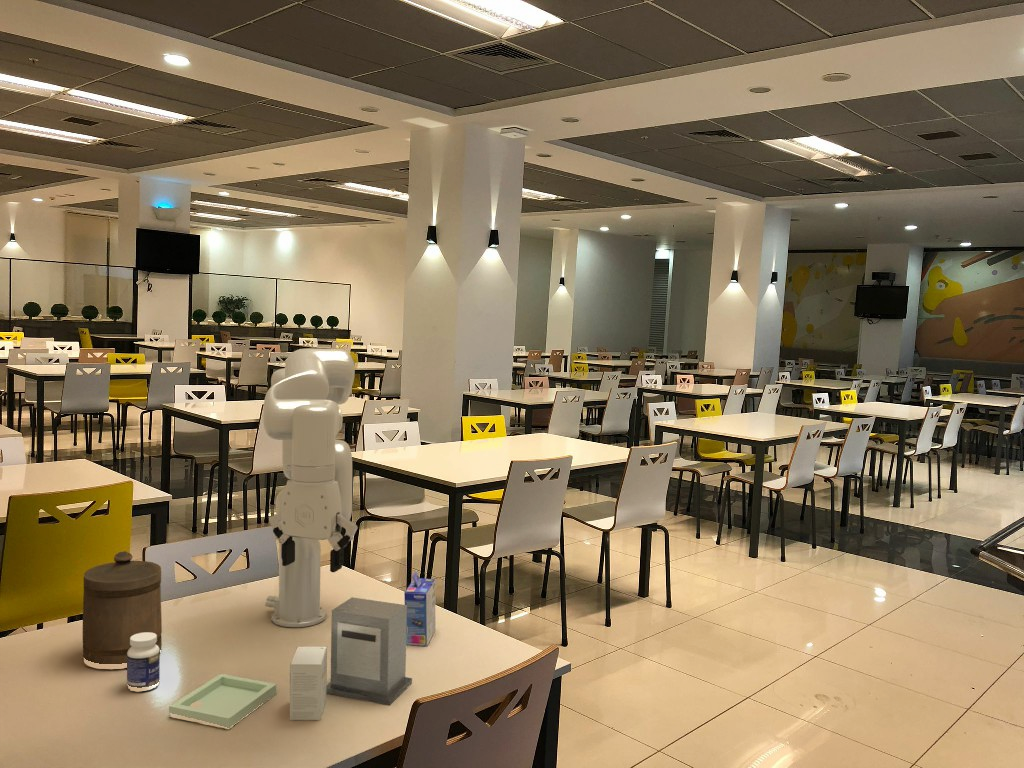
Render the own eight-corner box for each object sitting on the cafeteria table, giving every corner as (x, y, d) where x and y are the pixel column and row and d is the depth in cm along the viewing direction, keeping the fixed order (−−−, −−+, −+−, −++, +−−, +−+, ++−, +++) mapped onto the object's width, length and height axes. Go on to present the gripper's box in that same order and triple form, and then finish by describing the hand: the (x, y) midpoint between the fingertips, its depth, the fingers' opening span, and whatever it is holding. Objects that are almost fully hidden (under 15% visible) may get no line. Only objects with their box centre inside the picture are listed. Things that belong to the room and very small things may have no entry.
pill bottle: (155, 693, 156) (155, 641, 155) (123, 694, 155) (122, 642, 154) (163, 679, 161) (162, 630, 160) (132, 680, 160) (131, 631, 160)
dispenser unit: (323, 692, 158) (324, 611, 156) (348, 672, 167) (349, 595, 166) (389, 705, 154) (391, 621, 152) (411, 683, 163) (413, 604, 162)
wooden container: (167, 640, 180) (167, 541, 179) (153, 668, 166) (153, 561, 164) (94, 643, 177) (93, 543, 175) (73, 673, 163) (71, 564, 161)
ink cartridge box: (412, 628, 192) (413, 567, 190) (435, 630, 191) (437, 569, 190) (402, 645, 182) (404, 580, 181) (427, 646, 181) (428, 582, 180)
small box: (296, 700, 155) (297, 645, 154) (326, 700, 155) (327, 645, 154) (288, 721, 147) (289, 663, 146) (320, 720, 147) (321, 663, 146)
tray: (169, 717, 146) (169, 706, 146) (220, 684, 160) (220, 673, 160) (229, 730, 143) (229, 718, 143) (276, 694, 156) (276, 683, 156)
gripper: (259, 473, 147) (258, 567, 148) (346, 481, 142) (345, 578, 143) (282, 466, 154) (281, 556, 155) (366, 473, 149) (365, 566, 150)
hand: (312, 567), depth 149 cm, fingers open, 9 cm apart
